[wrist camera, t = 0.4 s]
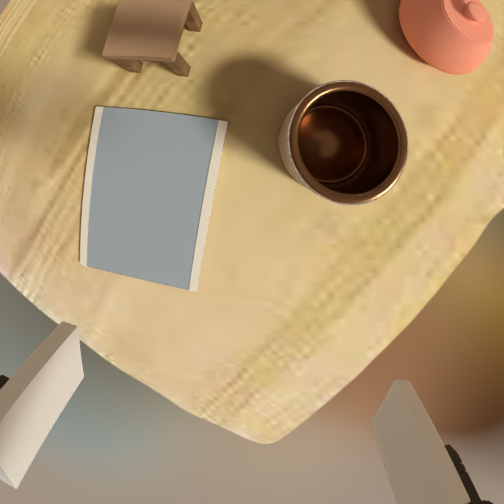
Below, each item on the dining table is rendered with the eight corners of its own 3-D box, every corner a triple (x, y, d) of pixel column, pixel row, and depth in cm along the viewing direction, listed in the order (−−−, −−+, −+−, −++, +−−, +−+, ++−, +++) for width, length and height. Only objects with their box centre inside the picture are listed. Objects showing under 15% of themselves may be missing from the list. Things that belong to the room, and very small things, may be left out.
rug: (97, 106, 32) (96, 106, 31) (228, 121, 33) (228, 121, 32) (81, 263, 38) (80, 264, 37) (197, 290, 39) (196, 292, 38)
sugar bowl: (390, 59, 30) (430, 35, 20) (390, -27, 26) (422, -62, 16) (469, 90, 30) (519, 82, 21) (466, 6, 26) (507, -15, 16)
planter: (270, 182, 35) (275, 193, 26) (286, 87, 32) (297, 65, 22) (362, 200, 35) (396, 217, 26) (379, 110, 32) (417, 99, 23)
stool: (145, 20, 29) (121, -6, 21) (202, 23, 29) (189, -7, 21) (131, 72, 31) (101, 55, 23) (188, 76, 31) (170, 57, 24)
